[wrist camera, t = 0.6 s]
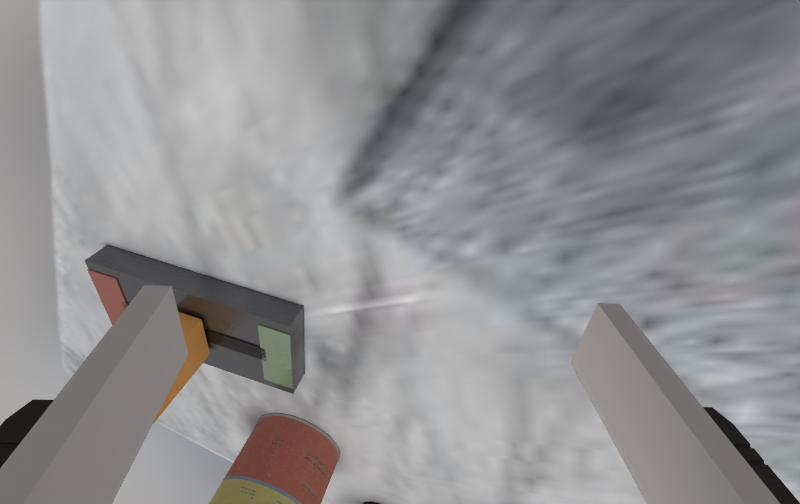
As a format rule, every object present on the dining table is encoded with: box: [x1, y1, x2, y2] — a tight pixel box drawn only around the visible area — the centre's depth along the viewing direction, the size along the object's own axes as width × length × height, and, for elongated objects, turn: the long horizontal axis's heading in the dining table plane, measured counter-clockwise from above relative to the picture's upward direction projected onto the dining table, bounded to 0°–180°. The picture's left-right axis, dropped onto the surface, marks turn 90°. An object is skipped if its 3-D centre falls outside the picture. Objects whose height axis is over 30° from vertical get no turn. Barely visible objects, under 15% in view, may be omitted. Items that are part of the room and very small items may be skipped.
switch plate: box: [85, 245, 305, 394], centre depth 39 cm, size 20×10×3 cm, turn 82°
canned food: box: [209, 413, 340, 504], centre depth 47 cm, size 11×11×12 cm
